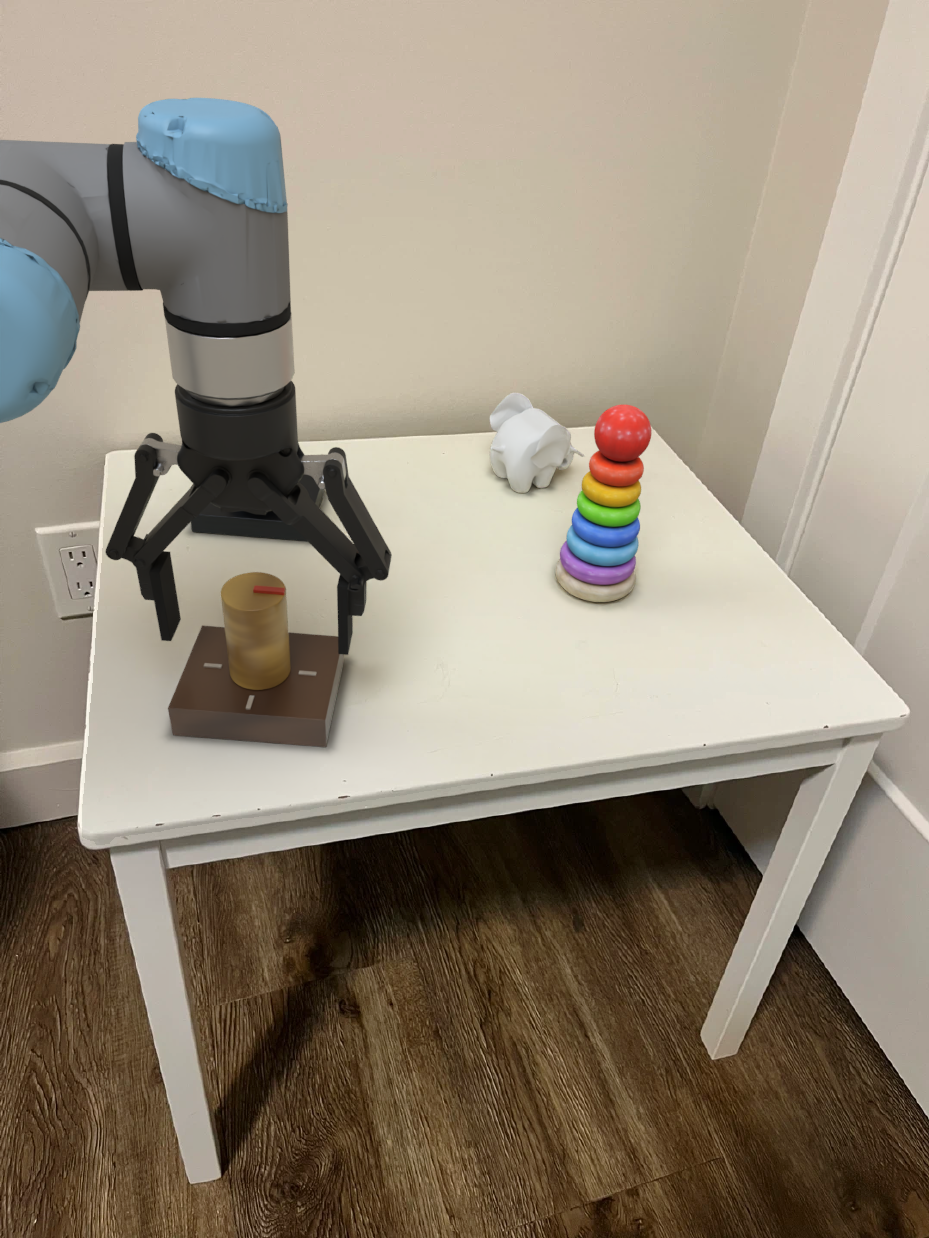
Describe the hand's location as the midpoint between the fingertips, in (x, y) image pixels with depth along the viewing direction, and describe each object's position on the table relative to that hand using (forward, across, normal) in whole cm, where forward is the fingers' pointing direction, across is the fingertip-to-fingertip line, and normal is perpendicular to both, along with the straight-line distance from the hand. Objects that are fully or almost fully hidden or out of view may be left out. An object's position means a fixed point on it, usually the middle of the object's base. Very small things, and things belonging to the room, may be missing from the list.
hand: (258, 637), depth 71 cm
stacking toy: (+7, -29, -20) cm, 36 cm away
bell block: (+7, +6, -28) cm, 29 cm away
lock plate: (+7, 0, 0) cm, 7 cm away
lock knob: (+3, 0, 0) cm, 3 cm away
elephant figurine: (+7, -23, -40) cm, 47 cm away
